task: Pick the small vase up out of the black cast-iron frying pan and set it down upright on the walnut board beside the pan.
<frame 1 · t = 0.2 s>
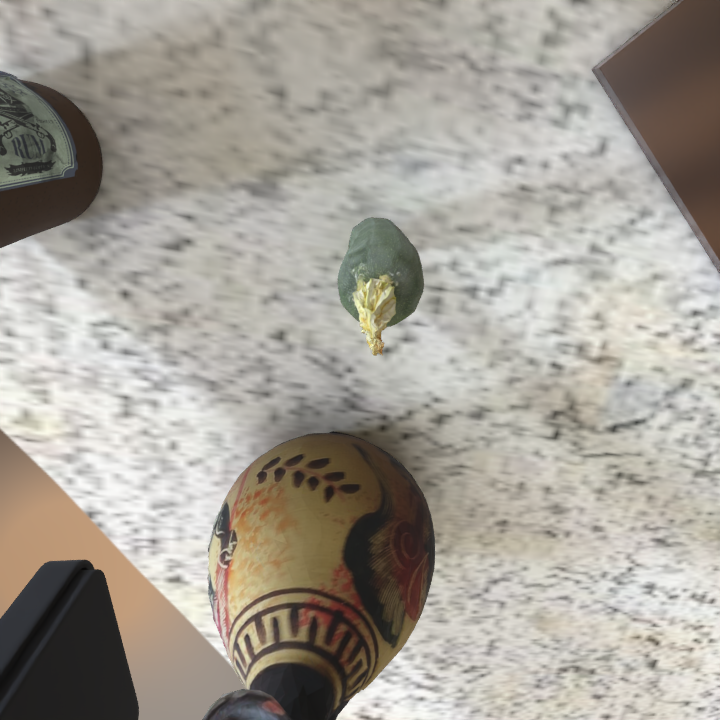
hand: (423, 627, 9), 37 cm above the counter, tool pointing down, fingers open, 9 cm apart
ceramic jug: (333, 492, 52), on the counter
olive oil: (38, 156, 43), on the counter
vegetable: (381, 236, 44), on the counter
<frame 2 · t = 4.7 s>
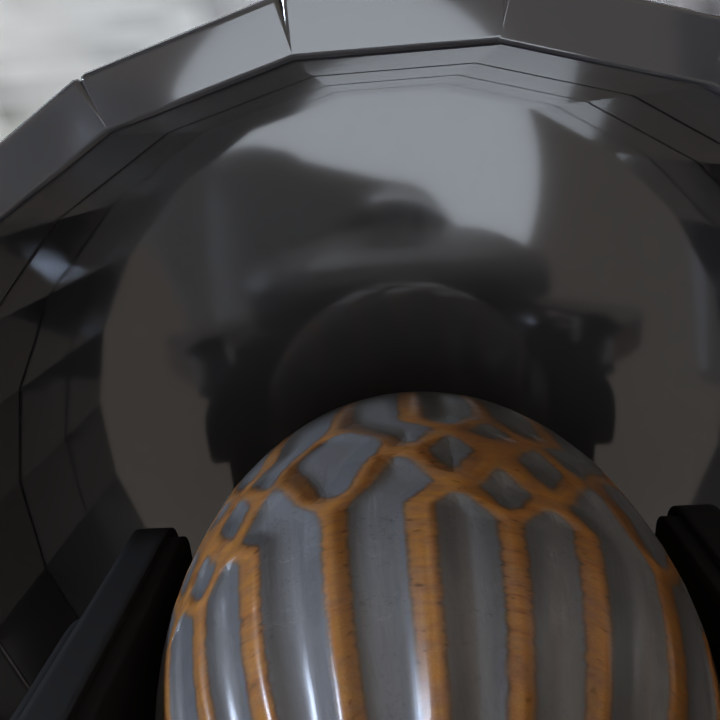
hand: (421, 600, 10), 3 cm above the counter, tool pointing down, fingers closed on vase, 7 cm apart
vase: (413, 502, 12), resting on pan, touching gripper
pan: (413, 499, 12), on the counter
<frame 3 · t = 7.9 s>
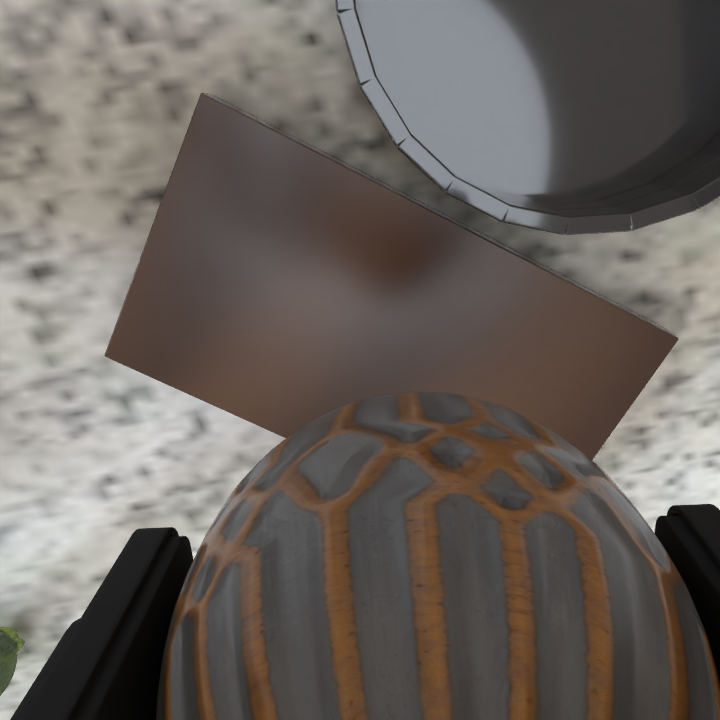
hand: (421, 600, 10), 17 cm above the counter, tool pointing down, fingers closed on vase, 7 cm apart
vase: (413, 503, 12), point 15 cm above the counter, touching gripper
board: (384, 336, 26), on the counter
vegetable: (16, 619, 33), on the counter
when the fingers open (4 cm above the counter, at t = 11.5 s): vase stays where it is, resting on board.
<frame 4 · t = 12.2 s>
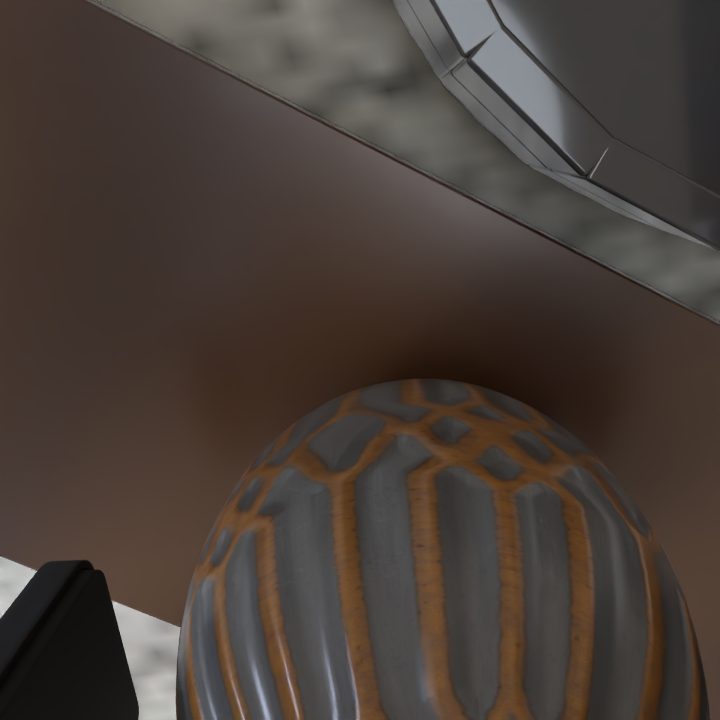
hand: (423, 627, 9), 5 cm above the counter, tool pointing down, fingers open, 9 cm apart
vase: (415, 487, 13), point 1 cm above the counter, touching board
board: (413, 456, 14), on the counter
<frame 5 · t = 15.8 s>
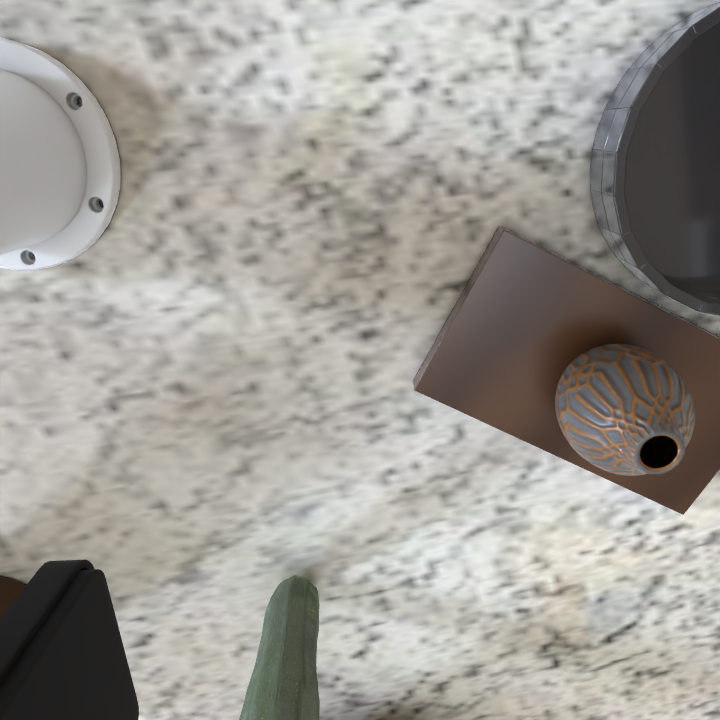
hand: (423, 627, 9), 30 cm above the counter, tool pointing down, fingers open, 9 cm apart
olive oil: (3, 620, 49), on the counter
vase: (599, 382, 39), point 1 cm above the counter, touching board
board: (593, 374, 40), on the counter
vegetable: (305, 571, 46), on the counter
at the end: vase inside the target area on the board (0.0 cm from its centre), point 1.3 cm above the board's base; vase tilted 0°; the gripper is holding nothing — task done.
